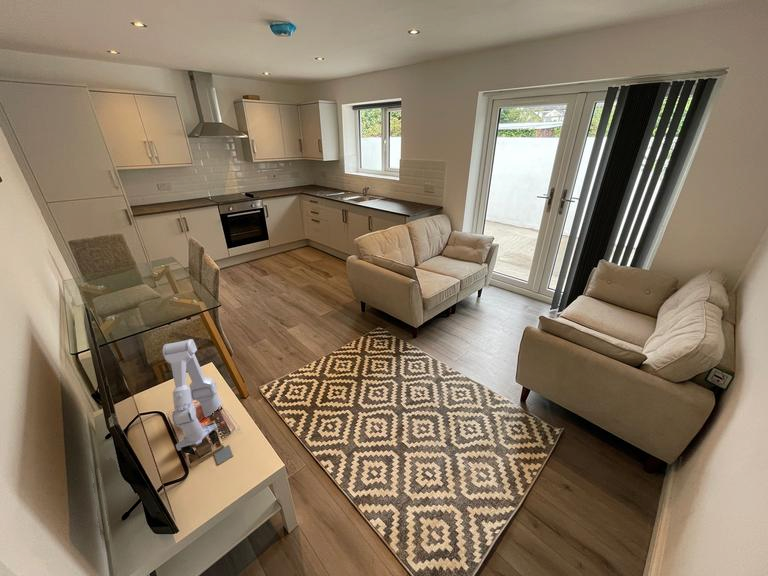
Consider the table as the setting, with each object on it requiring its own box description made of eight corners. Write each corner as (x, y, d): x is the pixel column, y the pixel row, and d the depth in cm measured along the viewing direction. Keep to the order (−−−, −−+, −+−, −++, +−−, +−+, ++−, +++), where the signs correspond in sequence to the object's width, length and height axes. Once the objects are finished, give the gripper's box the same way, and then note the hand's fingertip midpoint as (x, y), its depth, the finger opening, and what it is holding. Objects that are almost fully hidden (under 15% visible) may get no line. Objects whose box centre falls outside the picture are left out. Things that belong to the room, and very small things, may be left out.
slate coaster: (214, 453, 127) (213, 453, 127) (229, 445, 130) (228, 444, 130) (217, 465, 123) (217, 464, 123) (233, 456, 126) (232, 455, 126)
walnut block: (198, 449, 129) (193, 442, 126) (209, 442, 131) (205, 435, 128) (200, 457, 126) (196, 450, 123) (212, 451, 128) (208, 443, 125)
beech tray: (182, 439, 132) (181, 437, 131) (215, 422, 139) (214, 420, 138) (189, 468, 122) (188, 466, 121) (224, 447, 129) (223, 445, 128)
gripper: (173, 448, 114) (186, 466, 121) (215, 425, 121) (224, 444, 128) (170, 434, 118) (183, 453, 126) (210, 413, 126) (220, 432, 133)
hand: (204, 448), depth 127 cm, fingers open, 7 cm apart
